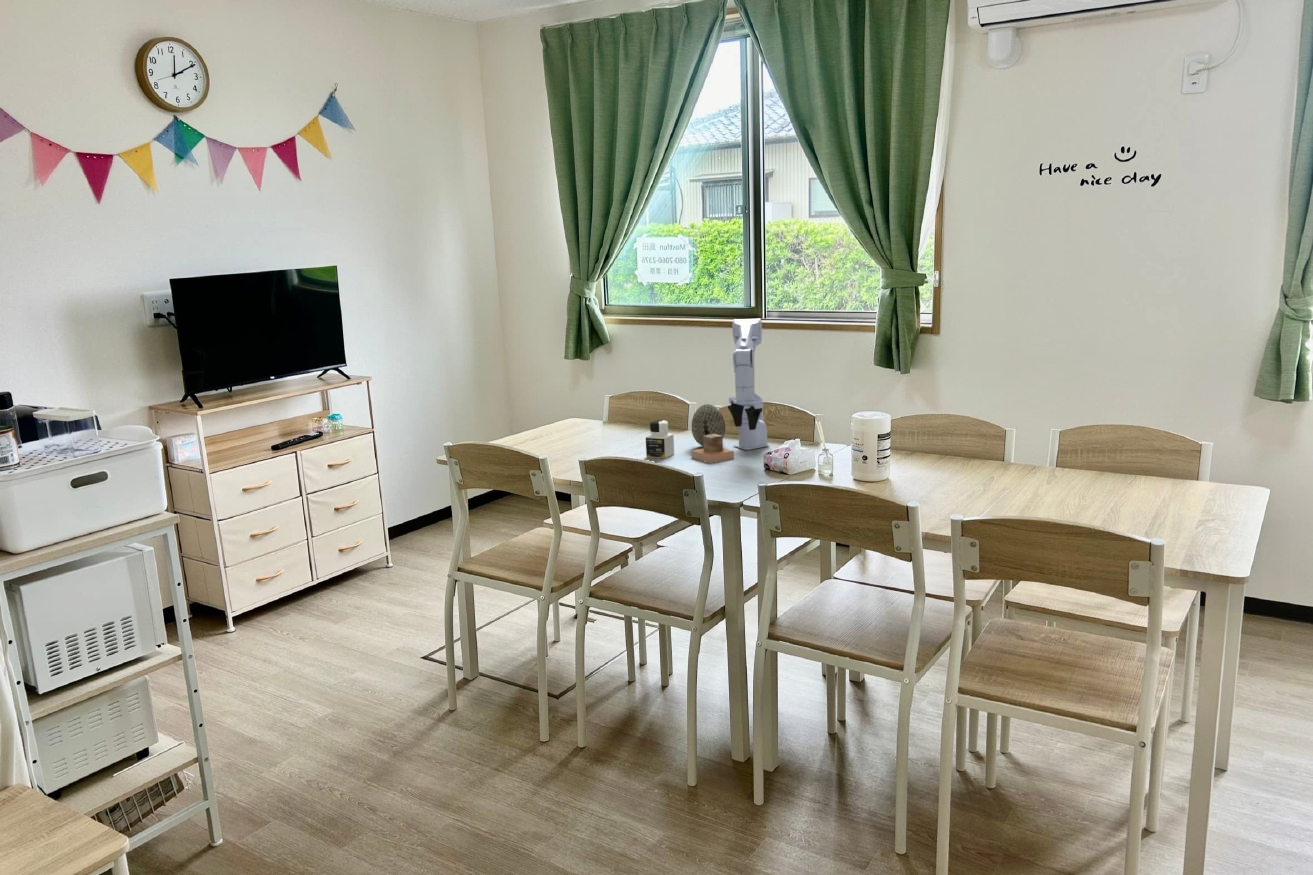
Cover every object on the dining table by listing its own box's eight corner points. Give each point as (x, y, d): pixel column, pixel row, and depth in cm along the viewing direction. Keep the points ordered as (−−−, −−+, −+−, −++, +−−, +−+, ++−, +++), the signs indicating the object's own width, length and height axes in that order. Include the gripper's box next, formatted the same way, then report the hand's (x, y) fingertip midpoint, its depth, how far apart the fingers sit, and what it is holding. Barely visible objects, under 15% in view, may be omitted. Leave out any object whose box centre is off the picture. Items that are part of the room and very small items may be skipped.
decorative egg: (724, 450, 326) (722, 407, 323) (690, 450, 328) (688, 407, 325) (727, 443, 338) (725, 401, 335) (694, 443, 340) (692, 401, 337)
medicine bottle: (646, 457, 321) (644, 422, 319) (656, 452, 328) (654, 418, 325) (665, 458, 318) (663, 423, 316) (674, 454, 324) (673, 419, 322)
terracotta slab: (716, 454, 323) (716, 446, 322) (733, 459, 314) (733, 450, 314) (691, 459, 318) (691, 450, 317) (708, 464, 309) (708, 455, 309)
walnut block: (714, 448, 319) (714, 433, 318) (723, 450, 315) (722, 435, 314) (703, 450, 316) (703, 435, 315) (711, 452, 312) (711, 437, 311)
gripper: (720, 385, 311) (722, 426, 314) (748, 390, 299) (749, 432, 302) (738, 383, 315) (739, 423, 318) (765, 387, 303) (766, 429, 305)
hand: (745, 427), depth 310 cm, fingers open, 7 cm apart
